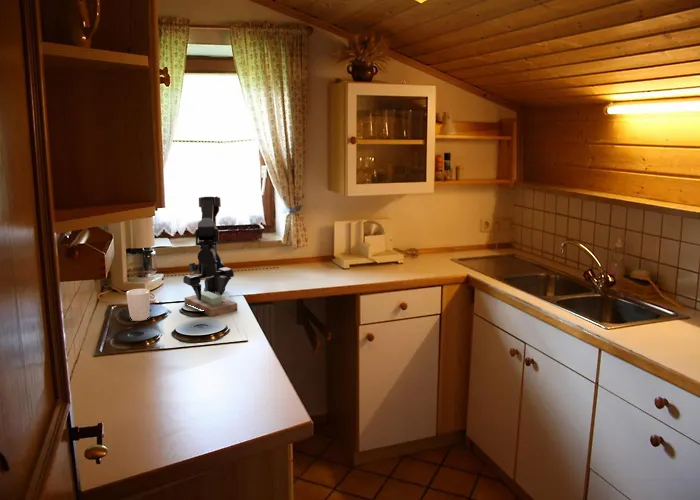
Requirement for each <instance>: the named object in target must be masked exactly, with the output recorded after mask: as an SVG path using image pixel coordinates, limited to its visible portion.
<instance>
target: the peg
mask: <svg viewBox="0 0 700 500" xmlns="http://www.w3.org/2000/svg"><path fill="white" fill-rule="evenodd" d="M222 296H223V295H222ZM222 296H221V295H220V294H216V293H215V292H213V293H212V292H209V291H206V290H205V291H201V301H203V302H205V303H208V304H210V305H217V304H221V303H222Z"/></svg>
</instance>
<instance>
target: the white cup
mask: <svg viewBox="0 0 700 500" xmlns="http://www.w3.org/2000/svg"><path fill="white" fill-rule="evenodd" d="M150 292H151V291H150V290H149V289H148V288H134V289H130V290H128V291H126V293H125V294H126V301H127V307H128V313H129V318H130V317H131V319H132V320H131V319H130V320H131V321H132V322H133V321H135V322H142V321H146V320H148V319H149V318H150V317H151V313H150V312H151V311H150V310H151V300H150V299H151V298H150V297H151V295H150V294H151V293H150ZM149 316H150V317H149ZM148 317H149V318H148ZM147 318H148V319H147Z"/></svg>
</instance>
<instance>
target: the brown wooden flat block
mask: <svg viewBox="0 0 700 500" xmlns="http://www.w3.org/2000/svg"><path fill="white" fill-rule="evenodd" d="M185 304H188V305H191V306H194V307H196V308H198V309H201V310H204V311H205V314H204V315H207V316H209V317H211V318H213V317H216V316H217V317H218V316H221V315H225V314H229V313H233V312H236V311H238V303H237V302H235V301H233V300H230V299H228V298H225V297H222V303H221V304H217V305H210V304H208V303H205V302H203V301H201V300H200V301H199V300H198V298H197V296H196V294H194V295H190V296H189V295H188V296H186V297H184V305H185Z"/></svg>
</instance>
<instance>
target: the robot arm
mask: <svg viewBox="0 0 700 500" xmlns="http://www.w3.org/2000/svg"><path fill="white" fill-rule="evenodd" d="M221 206H222V203H221V197H220V196H219V197H218V195H202V196H200V197H198V207H199V208H200V211H201V220H200V221H198V223H197V228H195V246H199V251H198V253H197V260H198V264H196V263H195V262H192V263H189V264H188V271H189V273H191V274H186V275H184V276H183V279H182V280H183V284H186V285H188V286H190V287H191V288H192V289H193V291H194V295H196V296H197V298H198V300H199V301H200V300H201V292H202V283H201V281H203V280H204V288H203V290H204V291H205V292H206V291H209V292H212V293H219V294H218V295H219V296H223V294H224V292H225V290H226V286H227V285H228V283H229V281H230V280H231V279H232V278H233V277H235V272H234V270H233V268H230V267H226V265H225V264H224V262H222V257H221V256H220V253H218V243H220V240H219V239H220V230H219V229H218V227H217V215H218V213H219V212H220V208H221ZM197 274H198V275H197Z"/></svg>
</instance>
